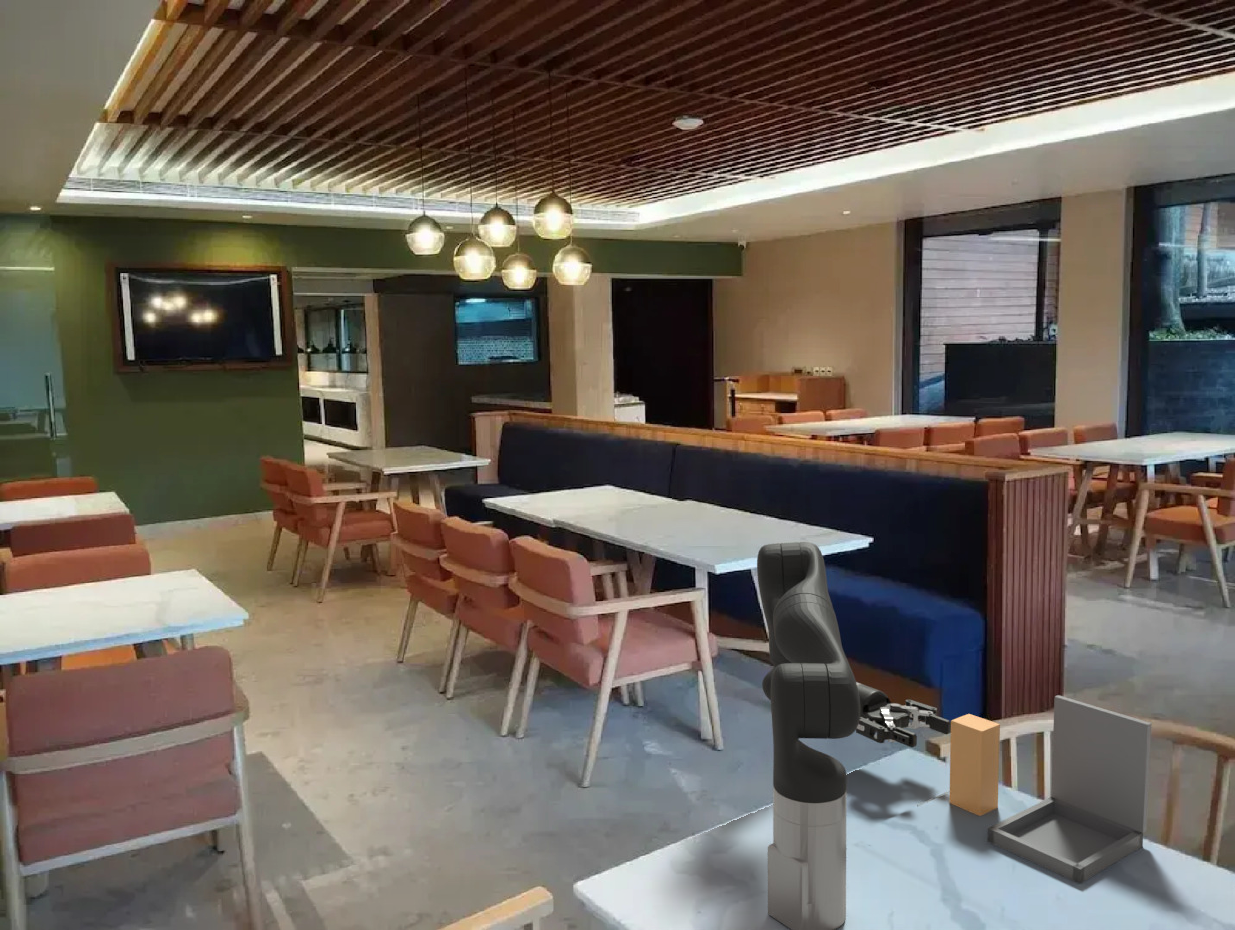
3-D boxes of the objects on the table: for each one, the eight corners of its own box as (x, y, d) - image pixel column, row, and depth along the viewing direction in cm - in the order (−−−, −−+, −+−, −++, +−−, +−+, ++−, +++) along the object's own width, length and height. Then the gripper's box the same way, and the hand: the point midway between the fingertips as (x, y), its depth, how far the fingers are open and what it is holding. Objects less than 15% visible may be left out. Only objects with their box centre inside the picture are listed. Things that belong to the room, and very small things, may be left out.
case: (1079, 890, 132) (1084, 754, 129) (987, 847, 143) (990, 721, 141) (1145, 850, 141) (1151, 723, 139) (1054, 813, 153) (1058, 695, 150)
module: (979, 819, 151) (982, 731, 149) (949, 806, 155) (951, 720, 153) (997, 810, 153) (999, 724, 151) (967, 798, 158) (968, 713, 156)
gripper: (827, 693, 168) (904, 723, 155) (883, 675, 176) (961, 702, 163) (827, 735, 169) (903, 768, 156) (883, 715, 177) (960, 745, 164)
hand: (932, 734), depth 160 cm, fingers open, 8 cm apart
